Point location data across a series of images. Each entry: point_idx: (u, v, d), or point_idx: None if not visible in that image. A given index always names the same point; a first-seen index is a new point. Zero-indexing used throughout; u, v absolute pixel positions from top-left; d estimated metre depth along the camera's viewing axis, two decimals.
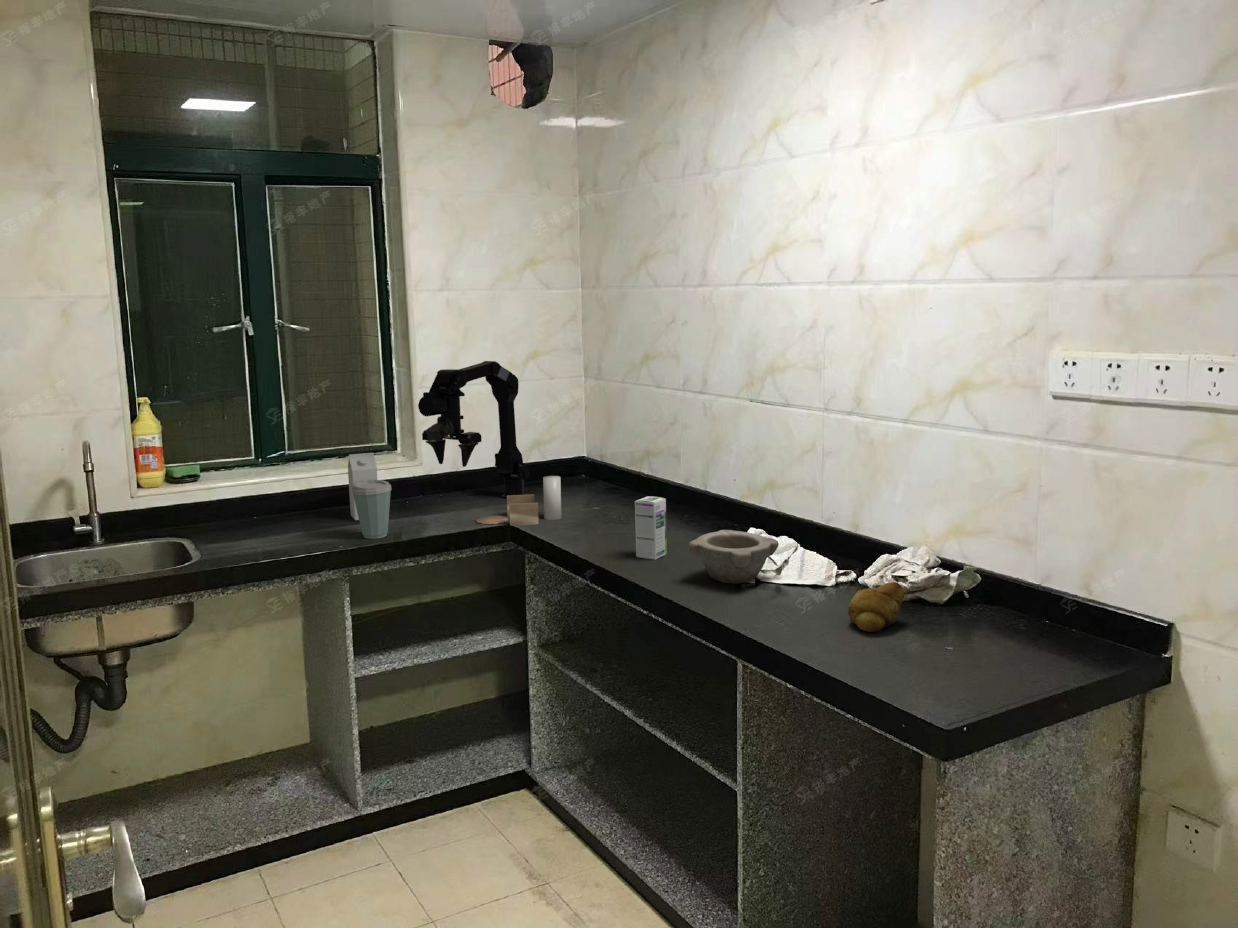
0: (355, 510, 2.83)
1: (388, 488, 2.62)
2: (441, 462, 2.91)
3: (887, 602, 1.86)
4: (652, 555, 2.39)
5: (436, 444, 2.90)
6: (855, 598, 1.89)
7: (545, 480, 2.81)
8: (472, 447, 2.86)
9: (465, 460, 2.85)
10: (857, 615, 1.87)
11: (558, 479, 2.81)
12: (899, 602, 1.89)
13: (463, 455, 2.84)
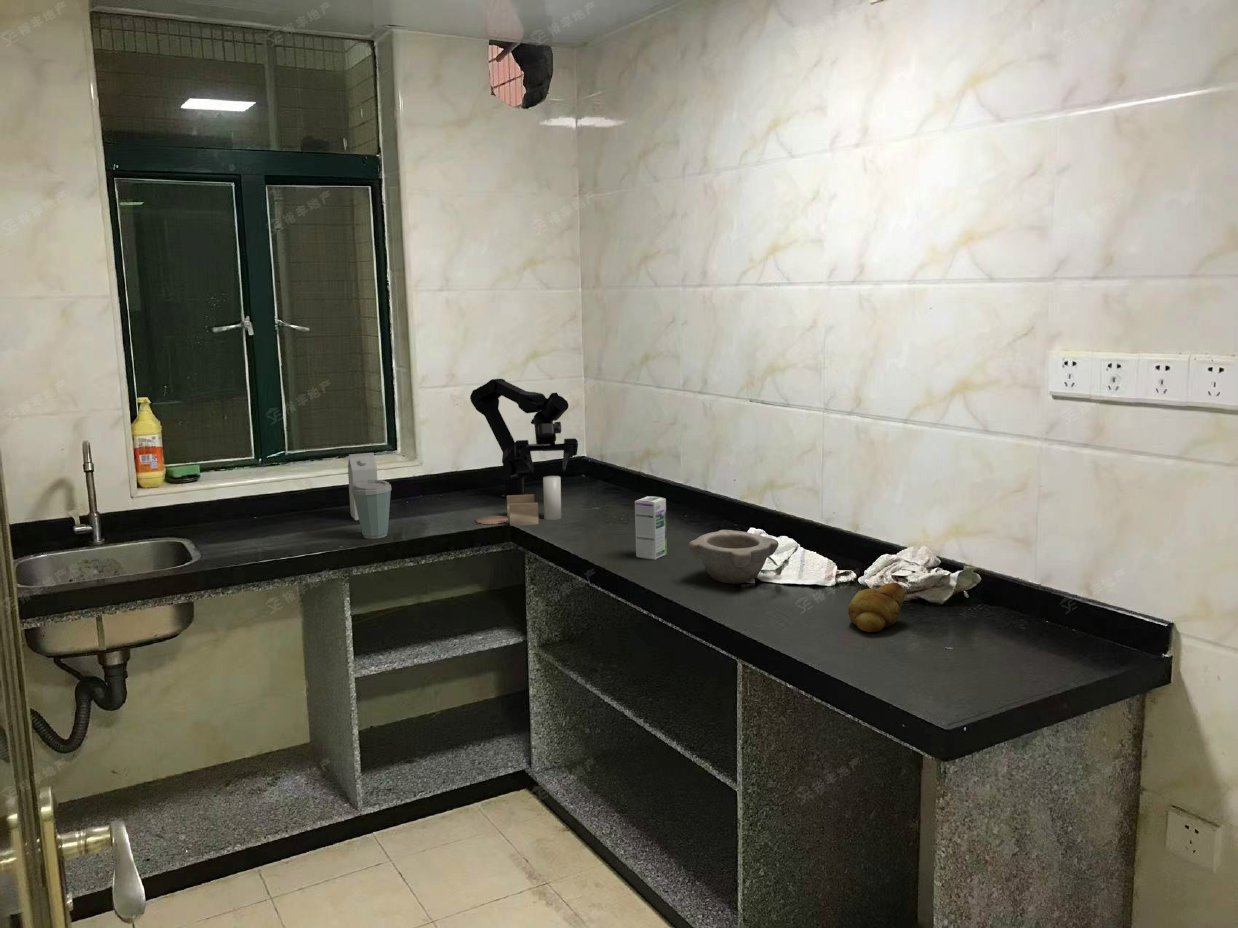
0: (355, 510, 2.83)
1: (388, 488, 2.62)
2: (533, 470, 2.89)
3: (887, 602, 1.86)
4: (652, 555, 2.39)
5: None
6: (855, 598, 1.89)
7: (545, 480, 2.81)
8: (568, 458, 2.95)
9: None
10: (857, 615, 1.87)
11: (558, 479, 2.81)
12: (899, 602, 1.89)
13: (566, 458, 2.91)
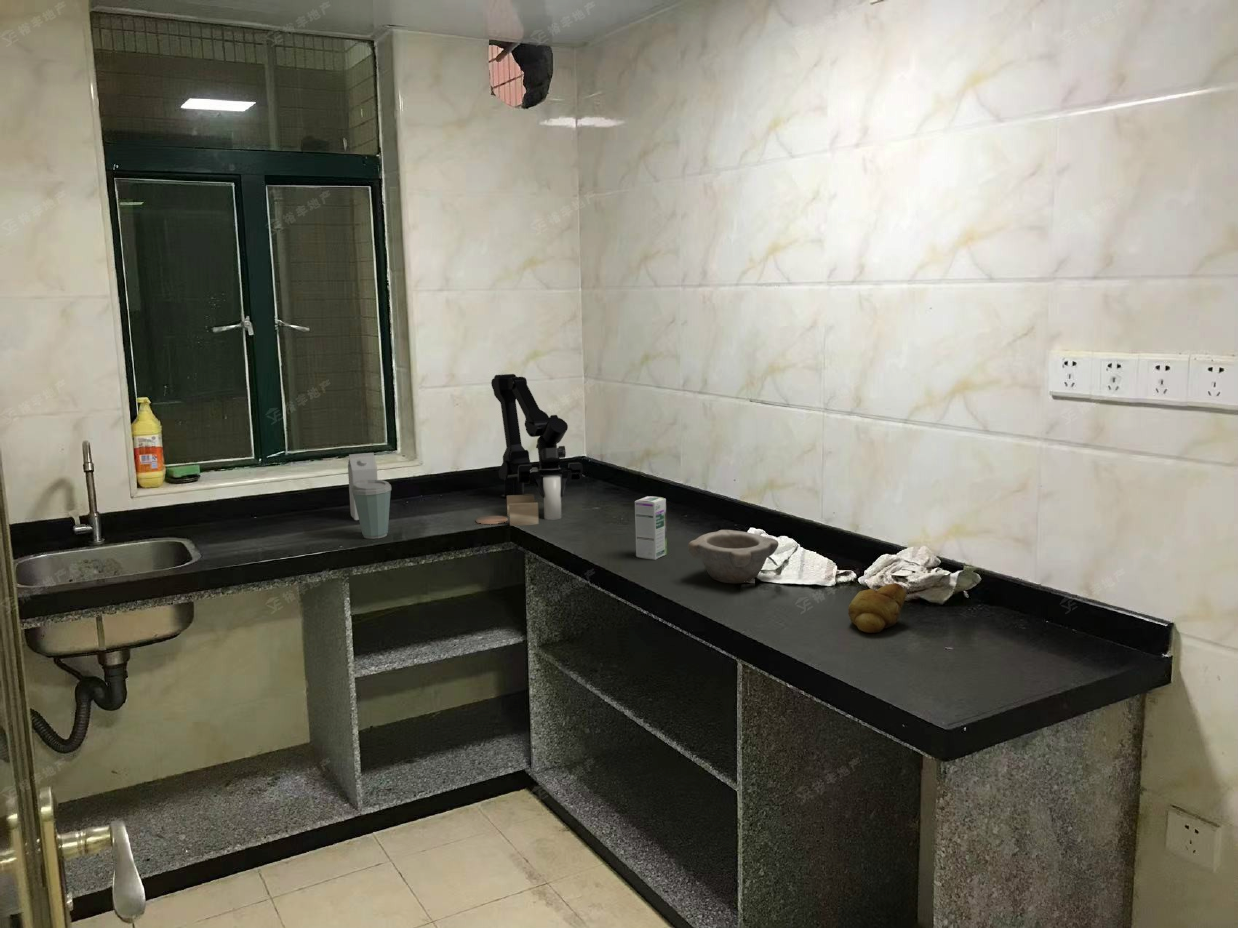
0: (355, 510, 2.83)
1: (388, 488, 2.62)
2: None
3: (887, 603, 1.86)
4: (652, 555, 2.39)
5: None
6: (855, 599, 1.88)
7: (545, 480, 2.81)
8: (566, 483, 2.87)
9: None
10: (857, 615, 1.86)
11: (558, 479, 2.81)
12: (900, 603, 1.89)
13: (564, 483, 2.83)
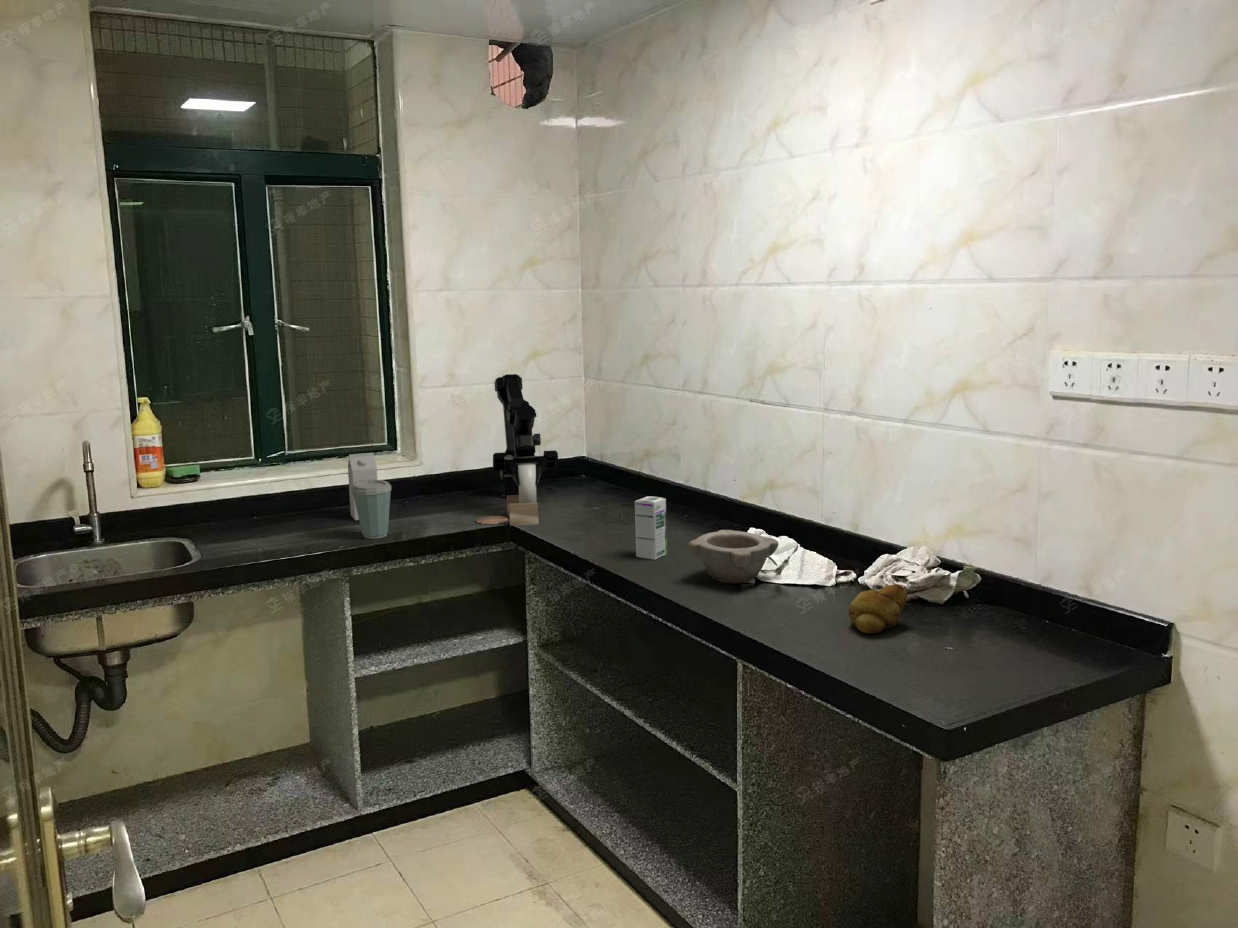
0: (355, 510, 2.83)
1: (388, 488, 2.62)
2: (518, 483, 2.80)
3: (887, 604, 1.85)
4: (652, 555, 2.39)
5: None
6: (855, 599, 1.88)
7: (520, 468, 2.79)
8: (541, 471, 2.85)
9: (539, 477, 2.81)
10: (857, 616, 1.86)
11: (533, 467, 2.79)
12: (900, 604, 1.88)
13: (539, 471, 2.82)
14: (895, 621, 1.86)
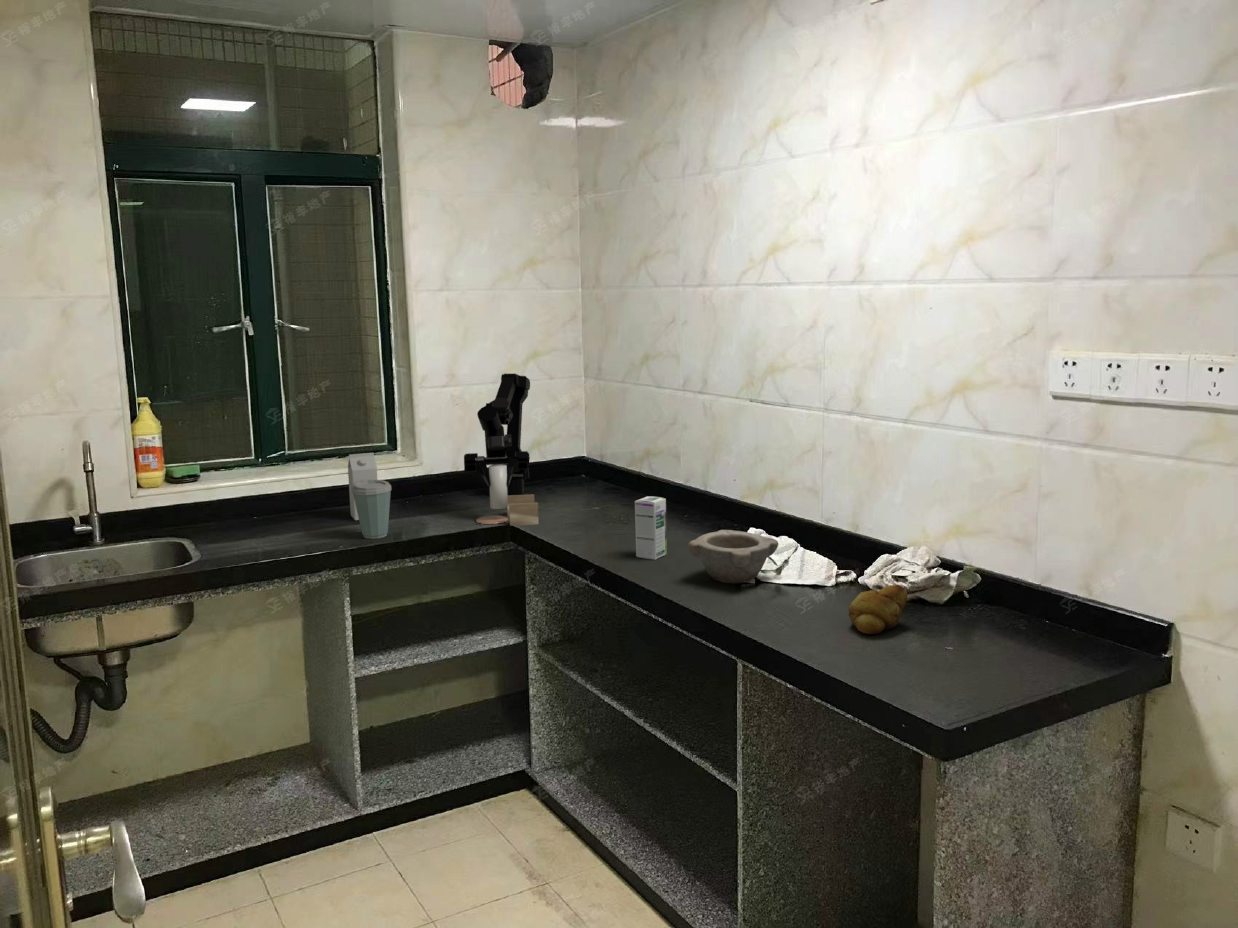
0: (355, 510, 2.83)
1: (388, 488, 2.62)
2: (489, 484, 2.78)
3: (887, 605, 1.85)
4: (652, 555, 2.39)
5: None
6: (855, 600, 1.88)
7: (490, 469, 2.77)
8: (512, 472, 2.84)
9: (510, 478, 2.80)
10: (857, 616, 1.86)
11: (504, 468, 2.78)
12: (901, 605, 1.88)
13: (510, 472, 2.80)
14: (895, 622, 1.86)
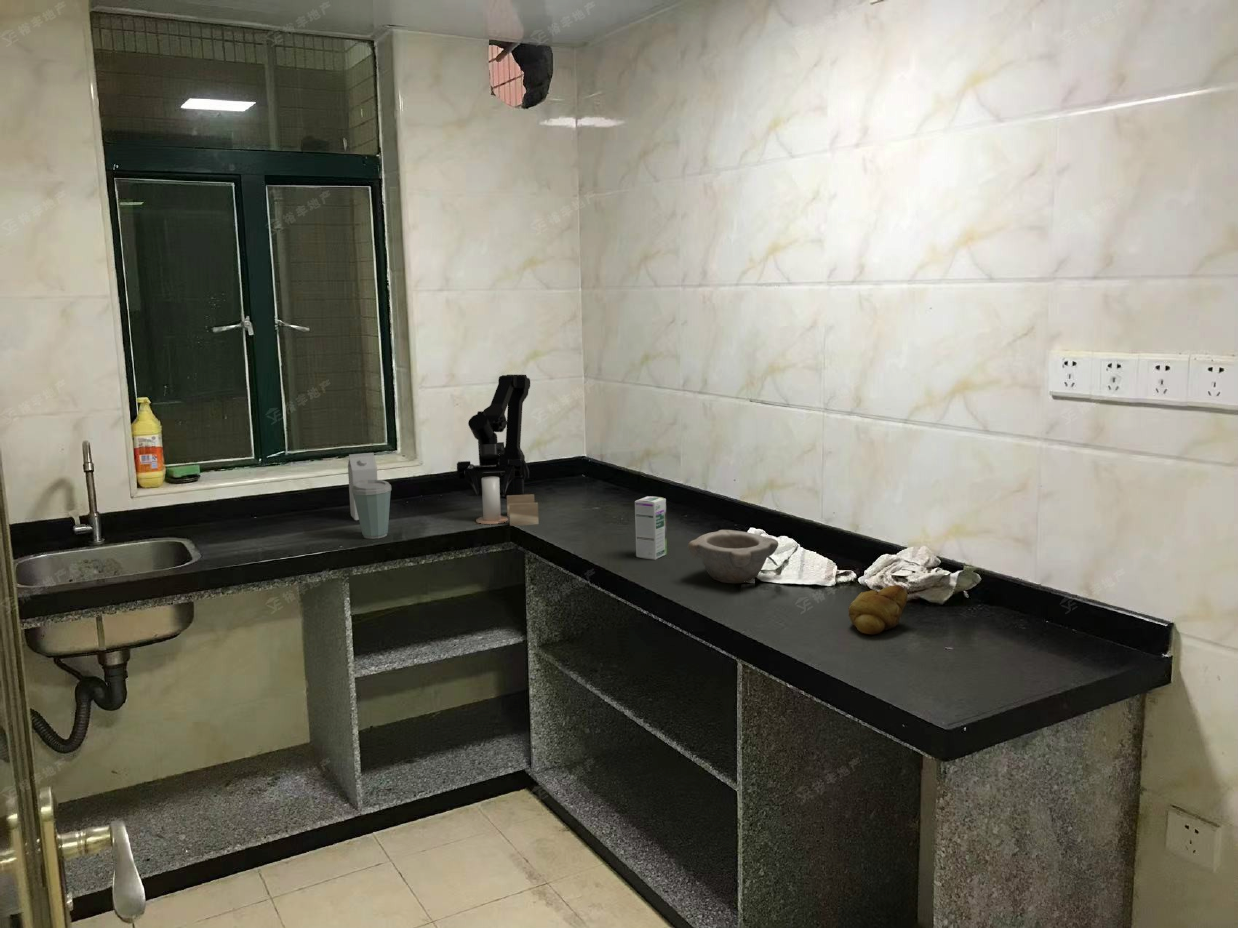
0: (355, 510, 2.83)
1: (388, 488, 2.62)
2: (478, 492, 2.78)
3: (887, 605, 1.85)
4: (652, 555, 2.39)
5: (475, 474, 2.80)
6: (855, 600, 1.87)
7: (483, 481, 2.77)
8: (509, 479, 2.84)
9: (506, 486, 2.80)
10: (857, 617, 1.86)
11: (496, 480, 2.78)
12: (901, 605, 1.88)
13: (506, 480, 2.80)
14: (895, 622, 1.86)
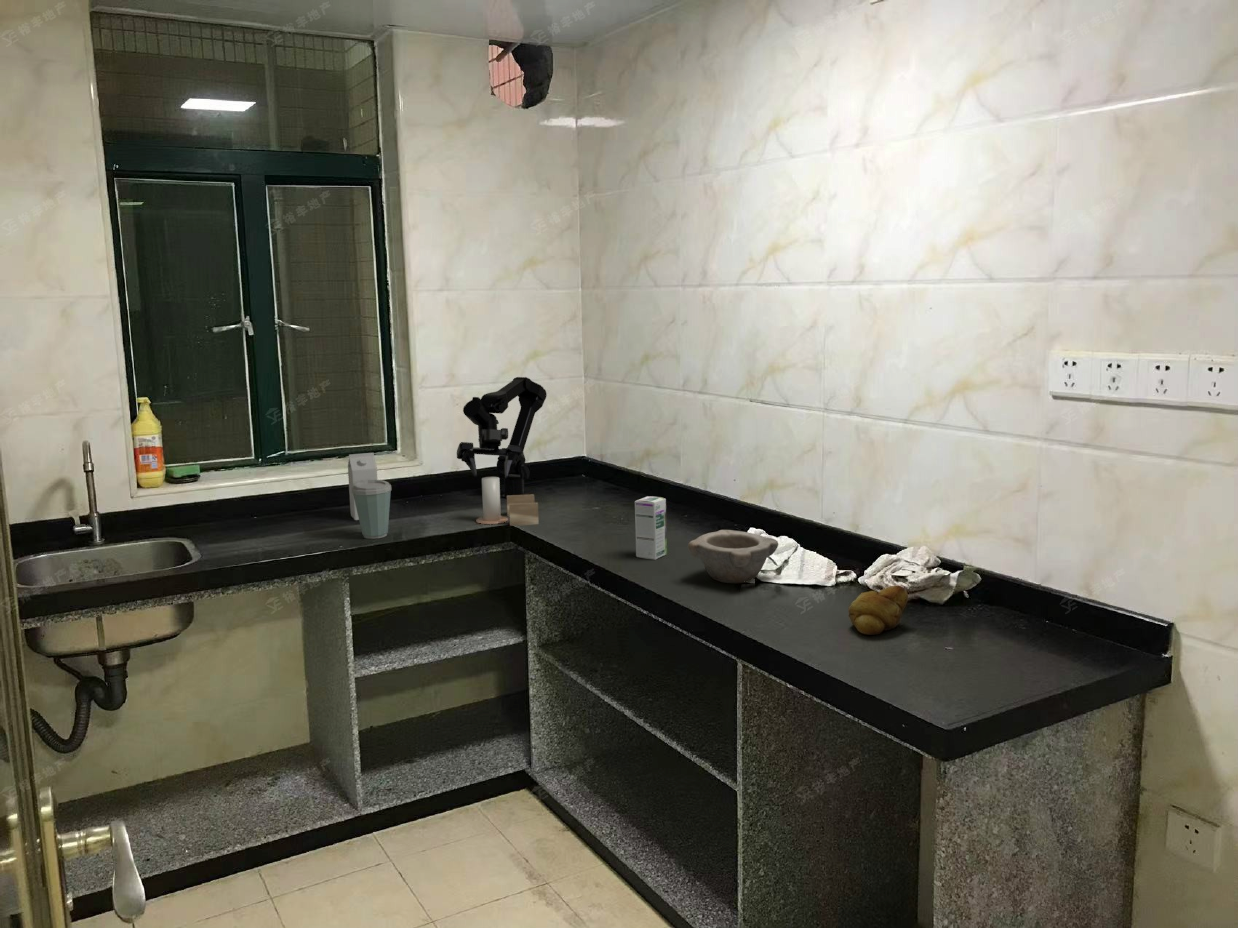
0: (355, 510, 2.83)
1: (388, 488, 2.62)
2: None
3: (887, 605, 1.84)
4: (652, 555, 2.39)
5: None
6: (855, 600, 1.87)
7: (483, 481, 2.78)
8: None
9: (508, 471, 2.90)
10: (856, 617, 1.85)
11: (497, 480, 2.78)
12: (901, 606, 1.87)
13: (509, 465, 2.90)
14: (895, 622, 1.86)
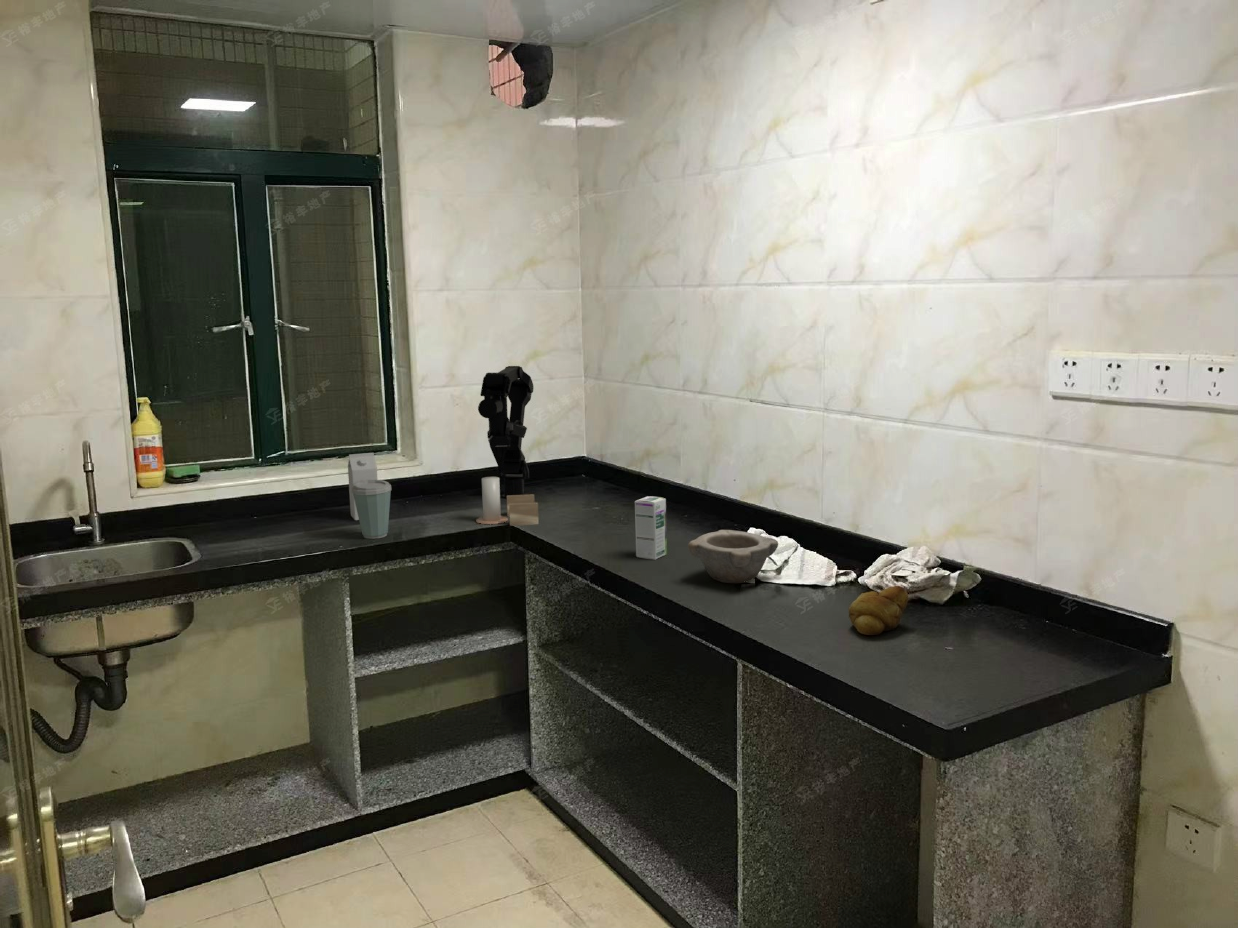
0: (355, 510, 2.83)
1: (388, 488, 2.62)
2: None
3: (887, 606, 1.84)
4: (652, 555, 2.39)
5: None
6: (855, 601, 1.87)
7: (483, 481, 2.78)
8: None
9: None
10: (856, 617, 1.85)
11: (496, 480, 2.78)
12: (901, 606, 1.87)
13: None
14: (895, 623, 1.85)
